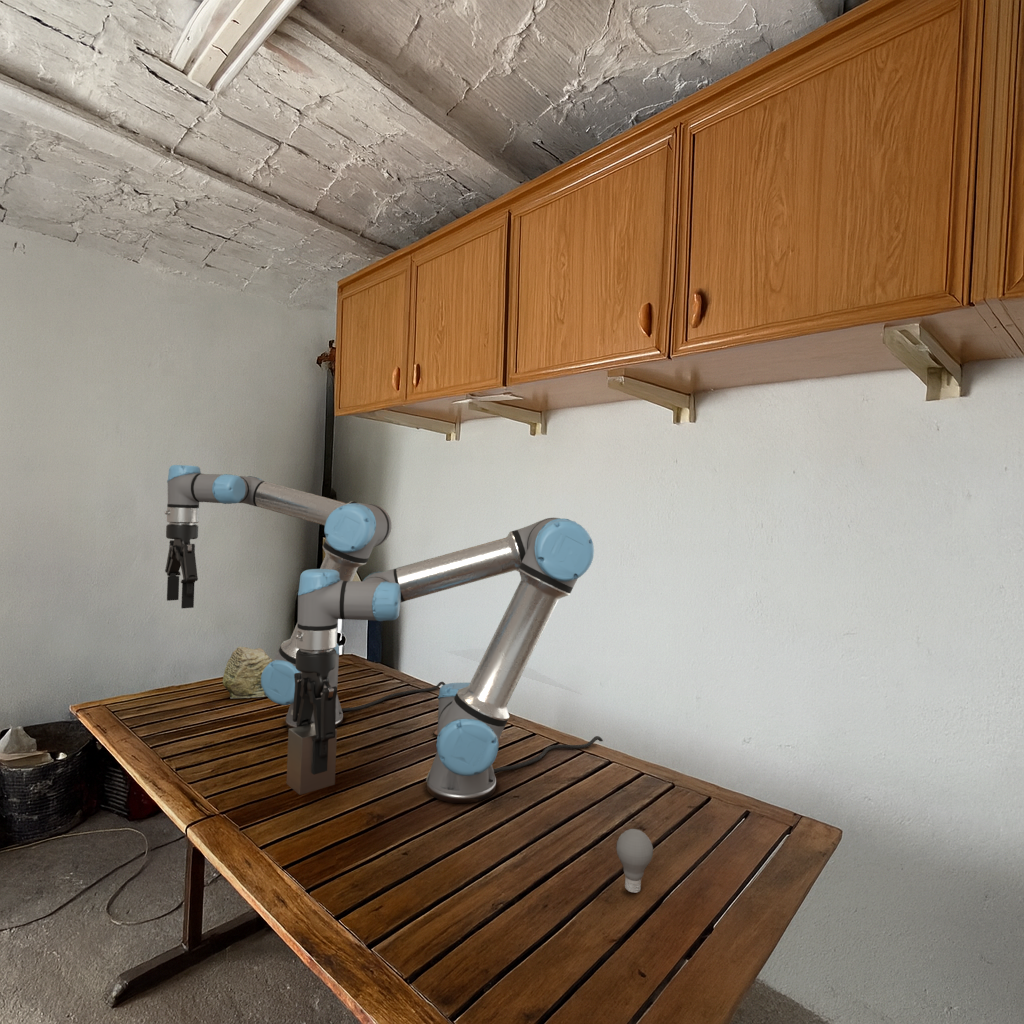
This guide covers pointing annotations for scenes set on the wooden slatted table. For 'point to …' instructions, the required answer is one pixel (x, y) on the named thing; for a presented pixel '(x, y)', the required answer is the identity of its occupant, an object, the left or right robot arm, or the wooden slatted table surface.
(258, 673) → the fossil
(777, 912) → the wooden slatted table surface
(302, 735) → the grey boxy piece
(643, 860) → the light bulb
